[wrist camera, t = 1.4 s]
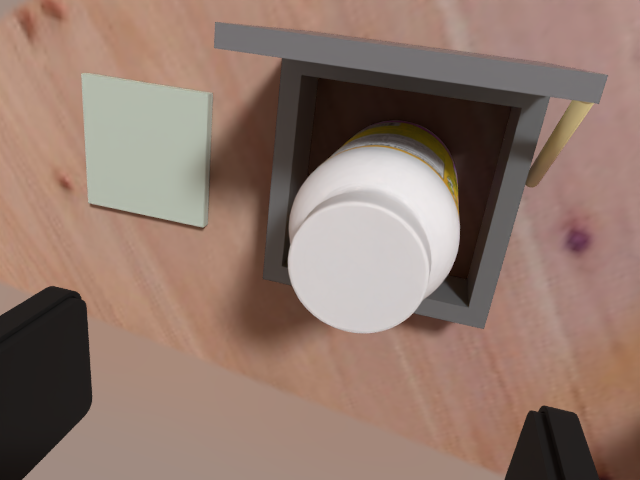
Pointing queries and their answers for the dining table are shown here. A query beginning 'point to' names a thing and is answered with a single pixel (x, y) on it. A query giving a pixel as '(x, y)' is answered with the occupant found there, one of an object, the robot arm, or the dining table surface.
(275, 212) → the case
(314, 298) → the supplement bottle
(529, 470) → the robot arm
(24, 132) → the dining table surface
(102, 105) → the rest pad
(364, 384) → the dining table surface
